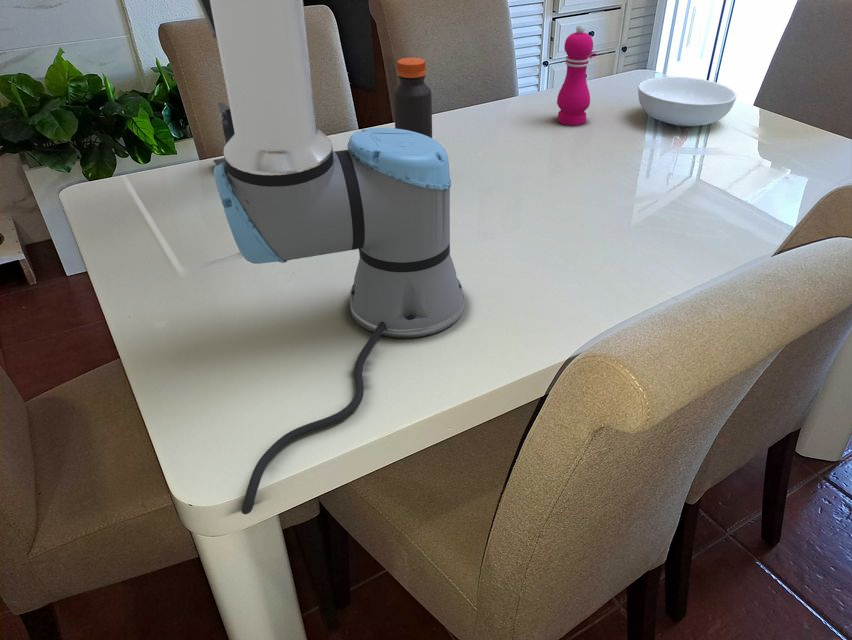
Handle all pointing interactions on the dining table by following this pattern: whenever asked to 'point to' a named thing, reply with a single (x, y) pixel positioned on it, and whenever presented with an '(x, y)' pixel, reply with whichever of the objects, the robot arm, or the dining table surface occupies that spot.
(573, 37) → the pepper mill
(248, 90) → the robot arm
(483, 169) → the dining table surface
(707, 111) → the serving bowl
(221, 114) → the bracket
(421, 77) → the bottle
